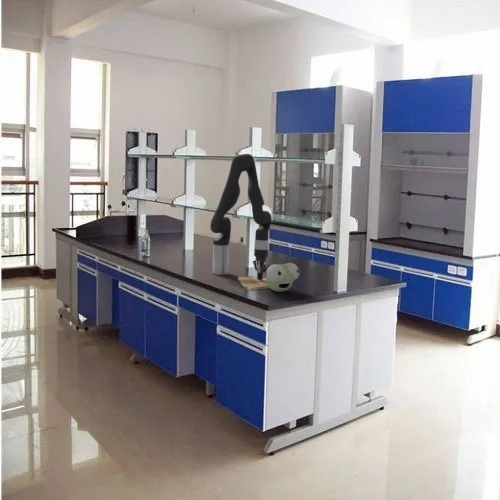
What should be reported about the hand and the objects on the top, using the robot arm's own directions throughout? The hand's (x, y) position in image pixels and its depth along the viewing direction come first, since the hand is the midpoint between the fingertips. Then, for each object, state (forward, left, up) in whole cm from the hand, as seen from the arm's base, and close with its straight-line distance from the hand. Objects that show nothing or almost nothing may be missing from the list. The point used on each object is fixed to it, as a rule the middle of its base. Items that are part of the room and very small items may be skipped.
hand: (259, 279), depth 325 cm
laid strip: (+10, -5, -2) cm, 11 cm away
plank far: (+3, 0, -2) cm, 3 cm away
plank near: (+3, -9, -1) cm, 10 cm away
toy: (+21, -1, -3) cm, 21 cm away
